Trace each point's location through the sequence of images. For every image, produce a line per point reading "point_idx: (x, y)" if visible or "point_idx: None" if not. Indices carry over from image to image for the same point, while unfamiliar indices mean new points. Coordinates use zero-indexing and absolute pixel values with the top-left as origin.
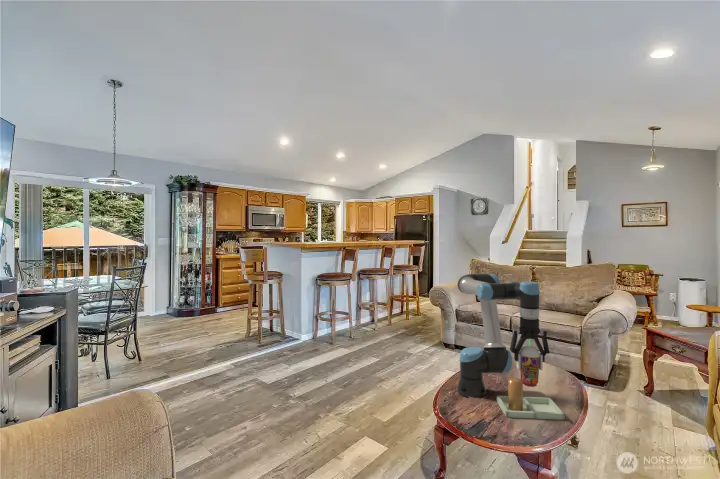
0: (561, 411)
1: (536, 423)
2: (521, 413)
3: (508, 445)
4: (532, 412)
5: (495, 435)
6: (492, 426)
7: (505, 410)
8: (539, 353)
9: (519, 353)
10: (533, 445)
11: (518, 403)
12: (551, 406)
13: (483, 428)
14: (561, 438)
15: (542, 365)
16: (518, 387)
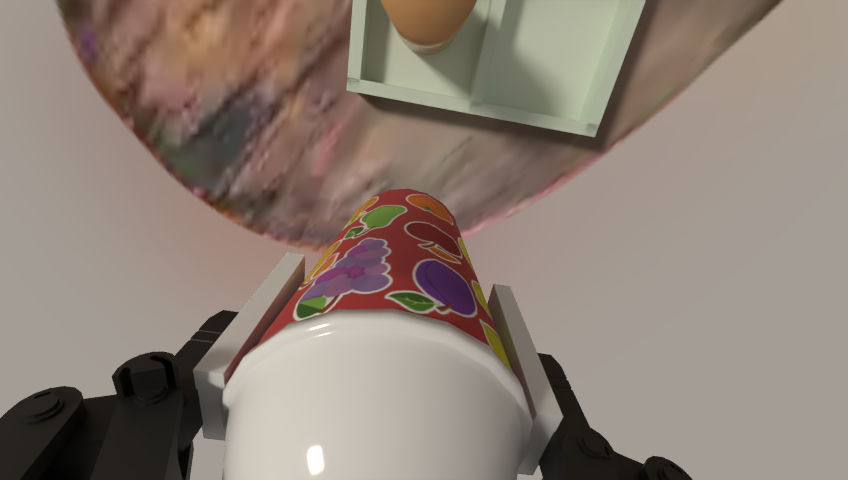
0: (600, 113)
1: (461, 133)
2: (415, 102)
3: (300, 245)
4: (464, 109)
5: (274, 194)
6: (279, 139)
7: (347, 79)
8: (519, 465)
9: (224, 416)
10: None
11: (425, 50)
12: (615, 19)
13: (241, 149)
14: (487, 227)
15: None
16: (425, 41)
